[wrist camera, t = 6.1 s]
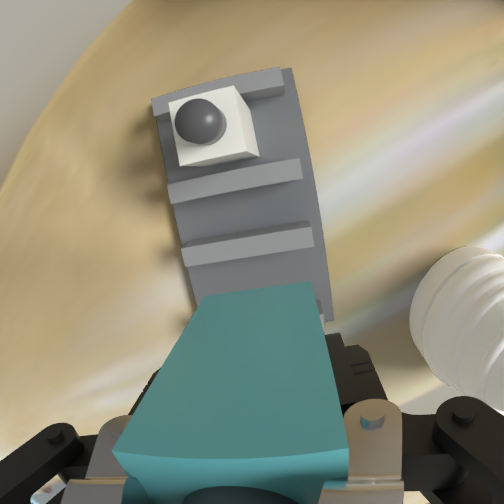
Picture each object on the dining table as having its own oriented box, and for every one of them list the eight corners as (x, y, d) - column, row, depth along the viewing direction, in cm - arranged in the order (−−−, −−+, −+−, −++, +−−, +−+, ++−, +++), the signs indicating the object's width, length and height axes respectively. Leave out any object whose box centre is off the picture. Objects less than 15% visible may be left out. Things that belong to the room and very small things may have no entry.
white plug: (250, 109, 24) (227, 76, 15) (259, 156, 25) (241, 148, 16) (202, 120, 25) (155, 96, 15) (211, 166, 26) (167, 165, 16)
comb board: (291, 71, 24) (291, 56, 20) (332, 315, 29) (338, 336, 25) (157, 102, 26) (138, 94, 22) (207, 331, 31) (197, 353, 27)
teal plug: (310, 280, 12) (367, 558, 2) (320, 370, 13) (349, 607, 3) (205, 295, 12) (65, 531, 3) (226, 380, 13) (164, 602, 3)
